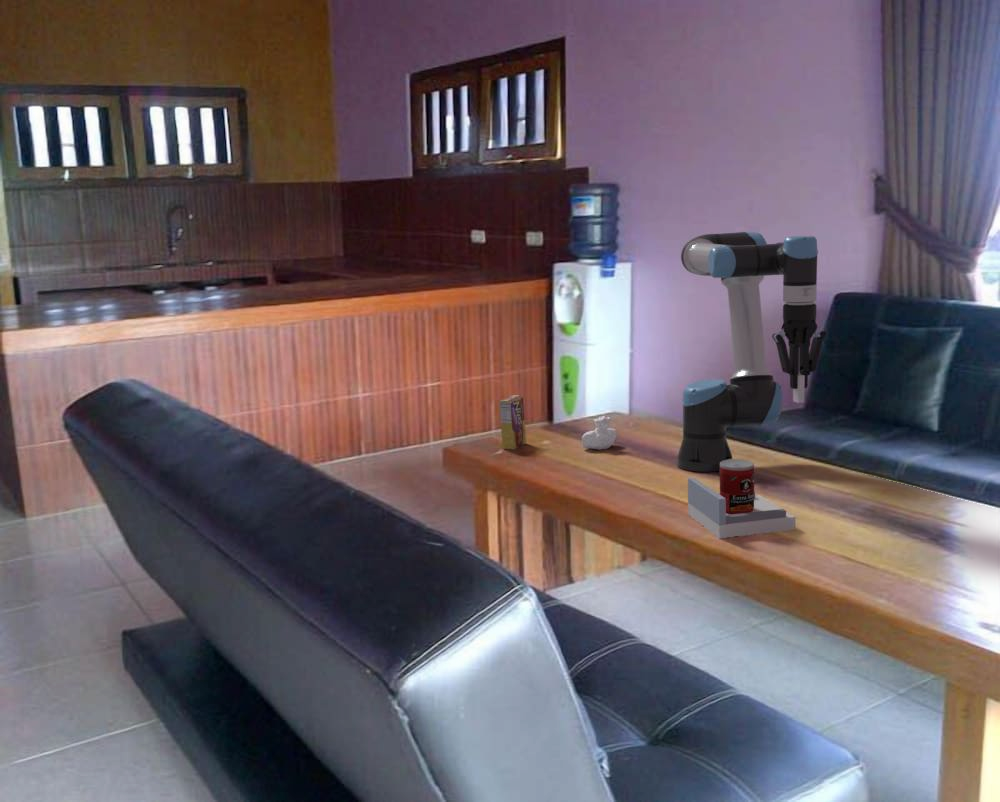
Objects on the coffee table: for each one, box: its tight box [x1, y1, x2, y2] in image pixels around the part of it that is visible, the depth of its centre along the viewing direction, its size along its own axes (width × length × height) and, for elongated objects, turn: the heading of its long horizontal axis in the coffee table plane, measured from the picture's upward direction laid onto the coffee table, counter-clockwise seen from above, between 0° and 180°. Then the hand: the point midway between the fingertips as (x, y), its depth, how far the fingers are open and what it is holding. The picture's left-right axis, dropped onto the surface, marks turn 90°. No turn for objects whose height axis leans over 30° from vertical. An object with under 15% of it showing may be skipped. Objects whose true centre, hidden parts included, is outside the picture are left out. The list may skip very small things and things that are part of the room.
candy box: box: [499, 394, 527, 451], centre depth 313 cm, size 9×4×15 cm, turn 152°
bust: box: [581, 415, 618, 451], centre depth 305 cm, size 12×8×11 cm
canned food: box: [719, 458, 755, 514], centre depth 231 cm, size 8×8×11 cm
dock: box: [687, 477, 796, 540], centre depth 232 cm, size 18×18×9 cm
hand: (798, 401), depth 242 cm, fingers closed
